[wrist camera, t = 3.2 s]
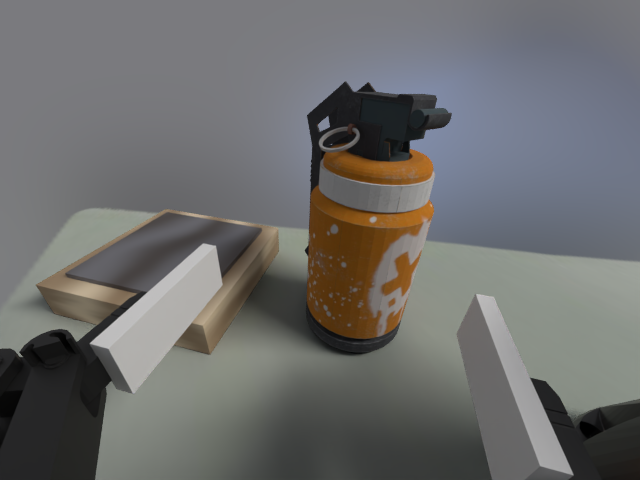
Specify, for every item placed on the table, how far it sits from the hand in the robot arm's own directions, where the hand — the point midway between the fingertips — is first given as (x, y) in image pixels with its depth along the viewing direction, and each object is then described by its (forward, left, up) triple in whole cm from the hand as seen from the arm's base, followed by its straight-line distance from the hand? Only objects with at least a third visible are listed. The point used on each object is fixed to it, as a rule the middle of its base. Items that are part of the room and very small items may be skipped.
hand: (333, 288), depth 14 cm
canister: (0, -9, -11) cm, 15 cm away
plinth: (+18, -9, -11) cm, 23 cm away
